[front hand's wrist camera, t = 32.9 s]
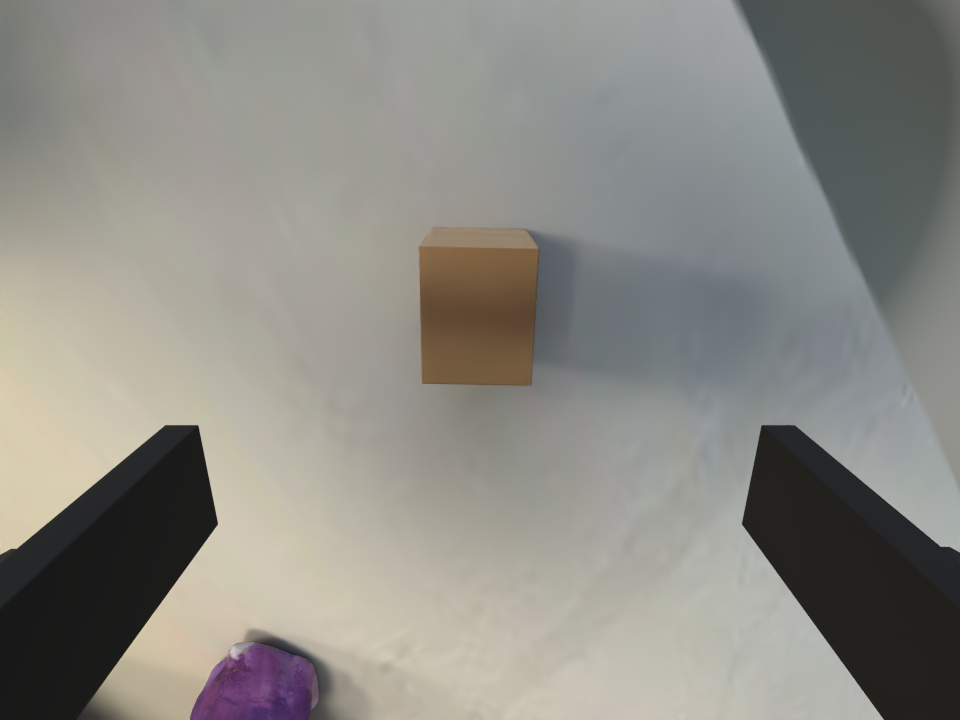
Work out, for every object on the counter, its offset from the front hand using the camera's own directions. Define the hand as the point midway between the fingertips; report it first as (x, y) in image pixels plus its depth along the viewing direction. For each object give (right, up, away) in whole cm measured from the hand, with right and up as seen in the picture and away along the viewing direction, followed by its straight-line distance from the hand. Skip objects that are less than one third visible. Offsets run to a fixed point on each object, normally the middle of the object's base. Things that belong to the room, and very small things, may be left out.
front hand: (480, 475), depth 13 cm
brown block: (0, +7, +19) cm, 21 cm away
